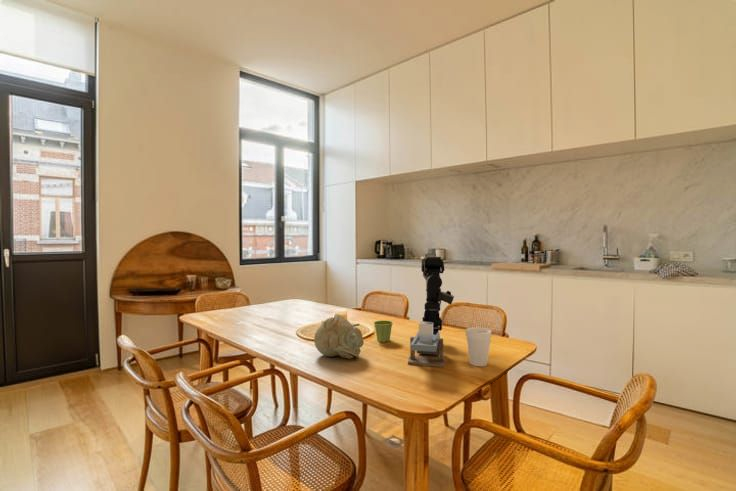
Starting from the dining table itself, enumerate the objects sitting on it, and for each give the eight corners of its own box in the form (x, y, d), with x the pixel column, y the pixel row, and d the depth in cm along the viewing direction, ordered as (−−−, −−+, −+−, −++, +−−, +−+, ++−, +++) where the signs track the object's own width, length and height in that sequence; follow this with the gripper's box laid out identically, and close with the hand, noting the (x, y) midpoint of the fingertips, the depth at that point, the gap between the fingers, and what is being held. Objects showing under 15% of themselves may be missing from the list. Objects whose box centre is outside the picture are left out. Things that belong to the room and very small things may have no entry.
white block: (420, 339, 146) (420, 321, 146) (433, 339, 145) (433, 322, 145) (418, 342, 140) (418, 323, 140) (432, 342, 139) (432, 324, 139)
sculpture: (313, 368, 142) (361, 350, 140) (302, 320, 151) (346, 302, 149) (330, 371, 158) (372, 355, 156) (318, 327, 167) (359, 311, 165)
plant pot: (370, 342, 173) (370, 324, 173) (377, 337, 182) (377, 319, 182) (389, 344, 170) (389, 325, 169) (395, 338, 178) (395, 321, 178)
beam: (418, 350, 158) (418, 331, 158) (439, 351, 156) (439, 332, 156) (410, 367, 130) (410, 344, 131) (435, 369, 128) (435, 346, 129)
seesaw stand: (410, 357, 151) (410, 334, 151) (445, 360, 148) (445, 336, 147) (407, 364, 143) (407, 340, 143) (444, 367, 140) (444, 342, 140)
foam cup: (487, 369, 137) (487, 334, 137) (463, 364, 142) (463, 331, 142) (493, 361, 145) (493, 329, 145) (470, 357, 150) (470, 326, 150)
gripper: (452, 289, 146) (452, 328, 146) (452, 283, 164) (452, 318, 164) (424, 289, 148) (424, 327, 149) (427, 282, 166) (427, 317, 167)
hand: (433, 322), depth 157 cm, fingers open, 9 cm apart
